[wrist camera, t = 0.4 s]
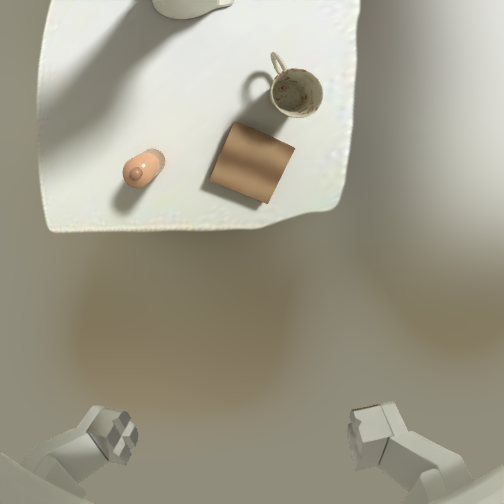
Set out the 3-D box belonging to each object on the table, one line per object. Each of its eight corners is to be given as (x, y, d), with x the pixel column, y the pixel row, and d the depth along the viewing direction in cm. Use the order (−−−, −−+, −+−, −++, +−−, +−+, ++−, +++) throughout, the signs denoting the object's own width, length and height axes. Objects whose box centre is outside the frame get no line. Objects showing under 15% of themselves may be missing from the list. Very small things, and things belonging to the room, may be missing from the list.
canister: (144, 145, 49) (125, 154, 39) (168, 153, 50) (154, 164, 41) (137, 169, 51) (116, 184, 41) (160, 177, 53) (144, 194, 43)
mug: (275, 123, 49) (284, 125, 40) (246, 66, 43) (249, 56, 35) (313, 107, 48) (331, 107, 39) (286, 51, 42) (298, 39, 33)
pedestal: (234, 121, 48) (234, 121, 46) (291, 146, 51) (295, 148, 49) (210, 177, 53) (209, 181, 51) (265, 199, 56) (267, 204, 54)
